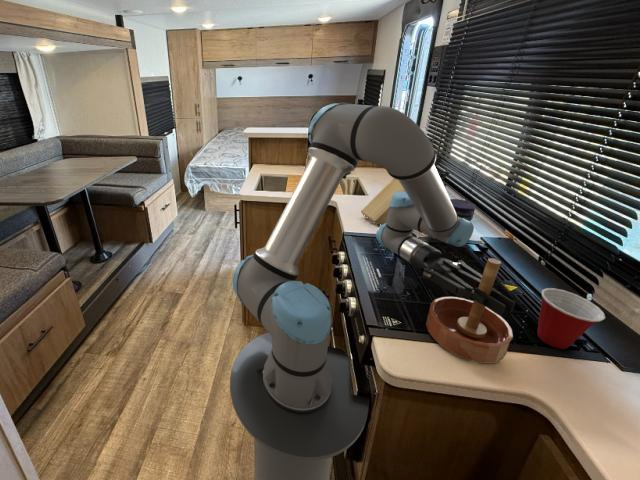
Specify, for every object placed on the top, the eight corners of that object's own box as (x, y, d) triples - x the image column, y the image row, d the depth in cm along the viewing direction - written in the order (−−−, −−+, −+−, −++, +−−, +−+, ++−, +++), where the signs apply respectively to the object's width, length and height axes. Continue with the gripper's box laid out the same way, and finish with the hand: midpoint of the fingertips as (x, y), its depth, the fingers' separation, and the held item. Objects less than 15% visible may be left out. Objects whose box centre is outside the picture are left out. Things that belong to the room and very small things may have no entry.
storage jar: (450, 244, 120) (460, 209, 114) (431, 233, 129) (439, 200, 123) (472, 241, 122) (482, 207, 116) (452, 230, 130) (460, 197, 125)
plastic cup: (592, 366, 69) (616, 325, 65) (529, 346, 75) (547, 307, 70) (576, 334, 78) (596, 296, 73) (521, 318, 83) (536, 282, 79)
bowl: (434, 355, 73) (440, 336, 71) (419, 308, 88) (423, 292, 85) (518, 373, 68) (527, 353, 66) (488, 320, 83) (494, 303, 81)
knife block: (441, 218, 142) (457, 152, 130) (374, 227, 135) (385, 158, 123) (422, 208, 152) (436, 147, 140) (359, 217, 145) (368, 152, 133)
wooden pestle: (461, 335, 76) (484, 266, 68) (453, 318, 81) (474, 252, 73) (489, 340, 74) (516, 270, 66) (480, 322, 79) (504, 256, 71)
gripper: (439, 261, 93) (526, 314, 72) (397, 271, 88) (477, 330, 68) (444, 239, 90) (537, 288, 69) (402, 249, 86) (487, 303, 65)
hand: (507, 308), depth 68 cm, fingers closed on wooden pestle, 2 cm apart
